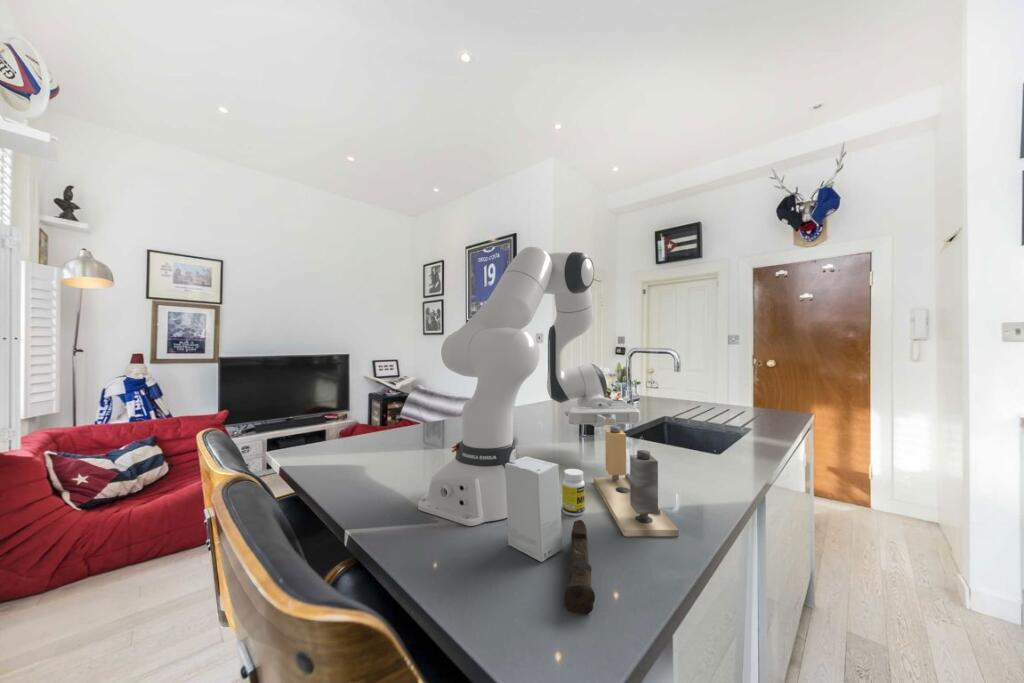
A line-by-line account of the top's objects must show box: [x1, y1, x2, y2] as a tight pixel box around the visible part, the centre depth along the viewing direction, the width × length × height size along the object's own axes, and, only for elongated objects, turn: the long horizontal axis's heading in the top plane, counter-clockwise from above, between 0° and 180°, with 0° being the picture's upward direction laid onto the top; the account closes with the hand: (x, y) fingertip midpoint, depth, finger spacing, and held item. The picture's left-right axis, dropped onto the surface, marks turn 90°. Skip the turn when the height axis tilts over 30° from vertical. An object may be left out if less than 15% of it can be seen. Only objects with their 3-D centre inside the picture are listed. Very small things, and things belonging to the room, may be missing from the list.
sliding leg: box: [604, 425, 627, 480], centre depth 92 cm, size 4×4×13 cm
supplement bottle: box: [561, 468, 586, 517], centre depth 78 cm, size 5×5×8 cm
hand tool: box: [563, 519, 596, 615], centre depth 58 cm, size 19×4×5 cm, turn 167°
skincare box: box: [505, 456, 563, 563], centre depth 65 cm, size 8×6×15 cm
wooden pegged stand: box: [593, 449, 680, 537], centre depth 81 cm, size 10×26×14 cm, turn 0°
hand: (609, 421), depth 99 cm, fingers closed
